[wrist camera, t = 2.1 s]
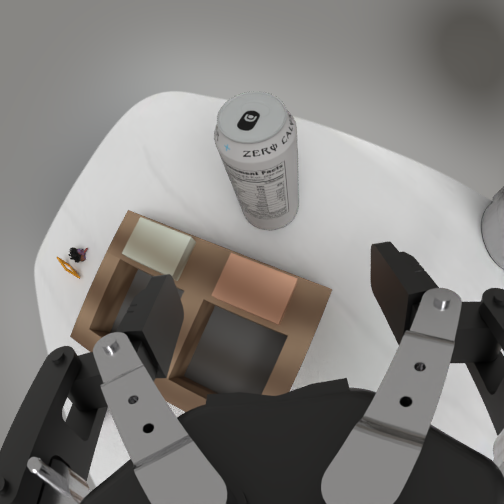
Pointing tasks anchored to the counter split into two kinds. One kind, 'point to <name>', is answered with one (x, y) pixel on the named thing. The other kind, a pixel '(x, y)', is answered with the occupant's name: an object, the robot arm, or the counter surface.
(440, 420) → the counter surface
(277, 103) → the energy drink can
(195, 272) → the socket block
